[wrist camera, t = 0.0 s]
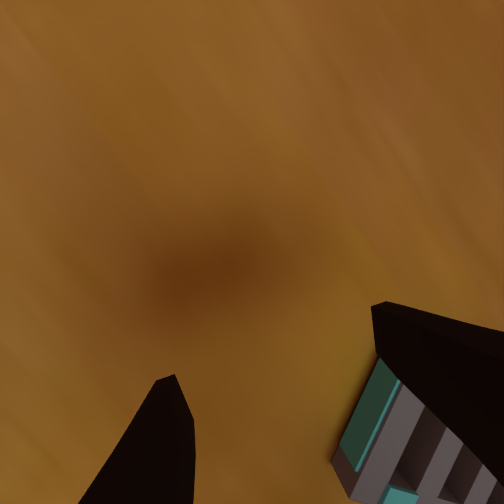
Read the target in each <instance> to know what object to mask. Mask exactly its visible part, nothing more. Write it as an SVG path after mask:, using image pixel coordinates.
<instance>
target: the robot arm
mask: <svg viewBox="0 0 504 504" xmlns="http://www.w3.org/2000/svg"><path fill="white" fill-rule="evenodd" d="M371 312H372V321H373V331H374V340H375V349H376V353H377V354H378V355H379V357H380V358H381V359H382V361H383V362H384V363H385V364H386V366H387V367H388V368H389V369H390V370H391V372H392V373H393V374H394V375H395V376H396V377H397V378H398V379H399V380H400V381H401V382H402V383H403V384H404V385H405V386H406V387H407V388H408V389H409V390H410V391H411V392H412V393H413V394H414V395H415V396H416V397H417V398H418V399H419V400H420V401H421V402H422V403H423V404H424V405H425V406H426V407H427V408H428V409H429V410H430V411H431V412H432V413H433V414H434V415H435V416H436V417H437V418H438V419H439V420H440V421H441V422H442V423H443V424H444V425H445V426H446V427H447V428H449V429H450V430H451V431H452V432H453V433H454V434H455V435H456V436H457V437H458V438H459V439H460V440H461V441H462V442H463V443H464V444H465V445H466V446H467V447H468V448H469V450H470V451H471V452H472V453H473V454H474V455H475V456H476V457H477V458H478V459H479V460H480V461H481V462H482V464H483V465H484V466H485V467H486V468H487V469H488V470H489V471H490V473H491V474H492V475H493V476H494V477H495V478H496V479H497V480H498V482H499V483H500V484H501V485H502V486H503V487H504V332H502V331H498V330H493V329H489V328H485V327H481V326H477V325H473V324H469V323H465V322H462V321H458V320H454V319H451V318H447V317H443V316H440V315H436V314H432V313H429V312H425V311H422V310H418V309H415V308H411V307H407V306H404V305H400V304H396V303H392V302H387V301H385V302H382V303H379V304H377V305H374V306H371ZM195 459H196V451H195V430H194V419H193V416H192V414H191V412H190V409H189V407H188V404H187V402H186V400H185V397H184V395H183V393H182V390H181V388H180V386H179V383H178V381H177V378H176V376H175V374H174V375H171V376H168V377H165V378H162V379H159V380H156V382H155V383H154V385H153V386H152V388H151V390H150V391H149V393H148V395H147V396H146V398H145V400H144V401H143V403H142V405H141V406H140V408H139V410H138V411H137V413H136V415H135V416H134V418H133V420H132V421H131V423H130V425H129V426H128V428H127V430H126V431H125V433H124V434H123V436H122V438H121V439H120V441H119V442H118V444H117V446H116V447H115V449H114V450H113V452H112V454H111V455H110V457H109V458H108V460H107V461H106V463H105V464H104V466H103V467H102V469H101V470H100V472H99V473H98V475H97V476H96V478H95V479H94V481H93V482H92V484H91V485H90V487H89V488H88V490H87V491H86V493H85V494H84V496H83V497H82V499H81V500H80V501H79V503H78V504H193V499H194V480H195Z"/></svg>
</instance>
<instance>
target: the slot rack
mask: <svg viewBox="0 0 504 504" xmlns="http://www.w3.org/2000/svg"><path fill="white" fill-rule="evenodd" d="M331 464H332V466H333V468H334V470H335V472H336V474H337V476H338V478H339V480H340V482H341V484H342V486H343V488H344V490H345V492H346V494H347V496H348V498H349V499H350V500H354V501H358V502H361V503H365V504H504V487H503V486H502V485H501V484H500V483H499V482H498V480H497V479H496V478H495V477H494V476H493V475H492V474H491V473H490V471H489V470H488V469H487V468H486V467H485V466H484V465H483V464H482V462H481V461H480V460H479V459H478V458H477V457H476V456H475V455H474V454H473V453H472V452H471V451H470V450H469V448H468V447H467V446H466V445H465V444H464V443H463V442H462V441H461V440H460V439H459V438H458V437H457V436H456V435H455V434H454V433H453V432H452V431H451V430H450V429H449V428H447V427H446V426H445V425H444V424H443V423H442V422H441V421H440V420H439V419H438V418H437V417H436V416H435V415H434V414H433V413H432V412H431V411H430V410H429V409H428V408H427V407H426V406H425V405H424V404H423V403H422V402H421V401H420V400H419V399H418V398H417V397H416V396H415V395H414V394H413V393H412V392H411V391H410V390H409V389H408V388H407V387H406V386H405V385H404V384H403V383H402V382H401V381H400V380H399V379H398V378H397V377H396V376H395V375H394V374H393V373H392V372H391V370H390V369H389V368H388V367H387V366H386V364H385V363H384V362H383V361H382V359H381V358H379V360H378V362H377V364H376V366H375V368H374V371H373V373H372V375H371V377H370V379H369V381H368V383H367V386H366V388H365V390H364V392H363V394H362V396H361V398H360V400H359V403H358V405H357V407H356V409H355V411H354V413H353V415H352V418H351V420H350V422H349V424H348V426H347V428H346V430H345V433H344V435H343V437H342V439H341V441H340V443H339V446H338V448H337V450H336V452H335V454H334V456H333V459H332V461H331Z"/></svg>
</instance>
